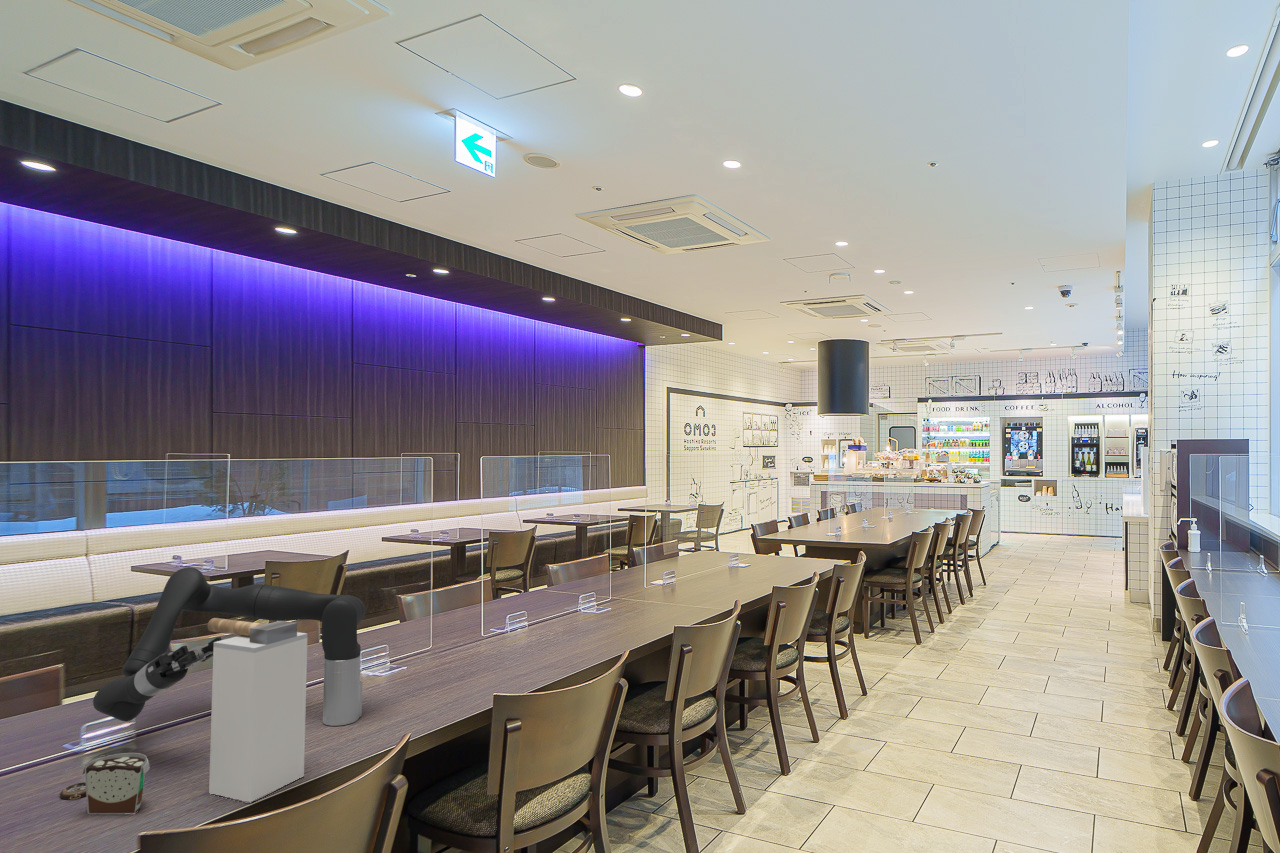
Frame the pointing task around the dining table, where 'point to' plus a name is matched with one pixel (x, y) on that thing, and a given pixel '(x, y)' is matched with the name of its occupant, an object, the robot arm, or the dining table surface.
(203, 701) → the dining table surface
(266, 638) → the mallet
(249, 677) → the stand
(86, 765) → the food container
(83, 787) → the compass
